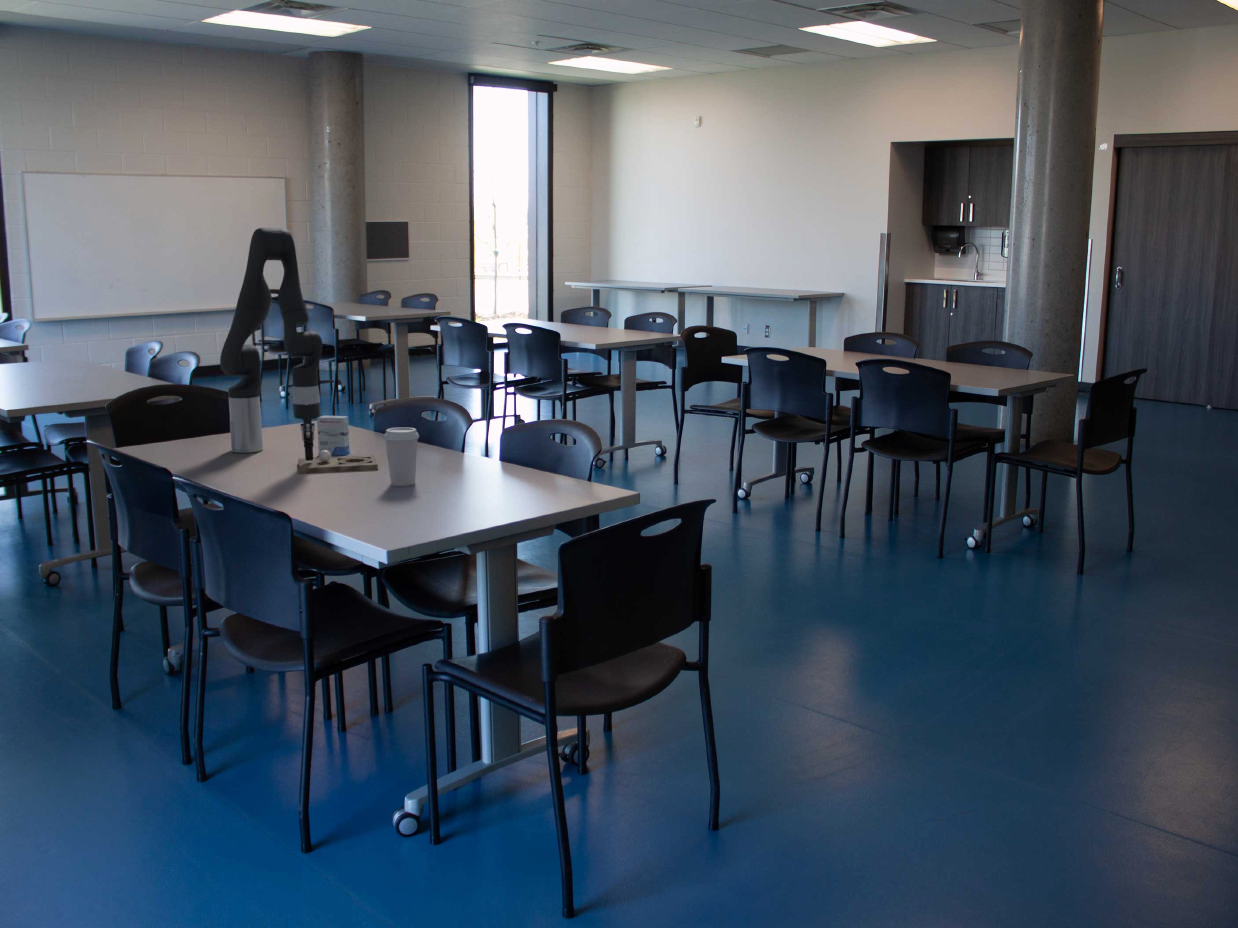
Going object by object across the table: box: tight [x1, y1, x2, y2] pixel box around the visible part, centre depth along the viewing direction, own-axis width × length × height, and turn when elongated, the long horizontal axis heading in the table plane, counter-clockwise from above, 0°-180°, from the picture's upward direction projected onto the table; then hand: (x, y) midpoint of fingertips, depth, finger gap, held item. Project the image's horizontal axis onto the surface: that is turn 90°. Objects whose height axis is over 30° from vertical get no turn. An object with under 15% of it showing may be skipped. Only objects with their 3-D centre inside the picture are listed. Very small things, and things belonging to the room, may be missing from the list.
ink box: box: [316, 415, 350, 456], centre depth 338 cm, size 8×5×12 cm, turn 84°
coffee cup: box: [383, 426, 420, 487], centre depth 297 cm, size 10×10×15 cm
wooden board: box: [297, 454, 379, 474], centre depth 320 cm, size 22×15×2 cm
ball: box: [318, 450, 332, 462], centre depth 319 cm, size 4×4×4 cm
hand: (309, 460), depth 317 cm, fingers closed
